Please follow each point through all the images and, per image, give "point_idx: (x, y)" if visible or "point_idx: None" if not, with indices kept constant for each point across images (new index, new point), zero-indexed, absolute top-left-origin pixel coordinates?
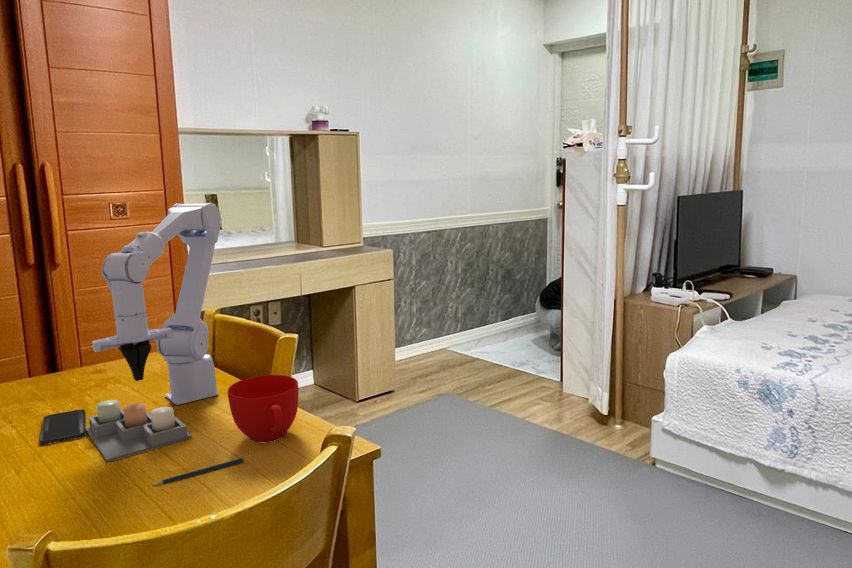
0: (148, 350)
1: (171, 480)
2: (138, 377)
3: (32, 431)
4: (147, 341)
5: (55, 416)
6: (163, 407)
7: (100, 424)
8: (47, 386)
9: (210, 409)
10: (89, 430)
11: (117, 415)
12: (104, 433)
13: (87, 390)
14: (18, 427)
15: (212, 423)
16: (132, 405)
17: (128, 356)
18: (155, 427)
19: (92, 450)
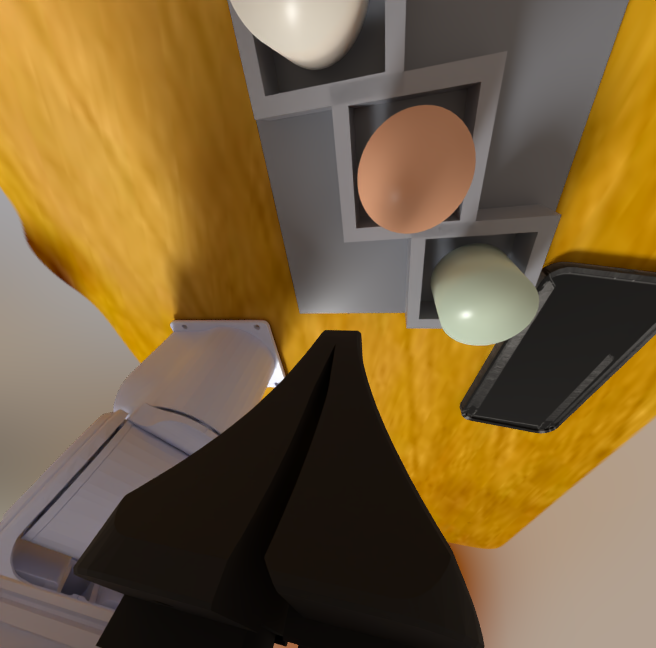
0: (151, 493)
1: None
2: (344, 339)
3: (615, 386)
4: (119, 640)
5: (529, 420)
6: (274, 37)
7: None
8: (456, 520)
9: (180, 239)
10: None
11: (454, 258)
12: (512, 209)
13: (411, 480)
14: (616, 423)
15: (153, 89)
16: (413, 211)
17: (401, 502)
18: None
19: (619, 81)
